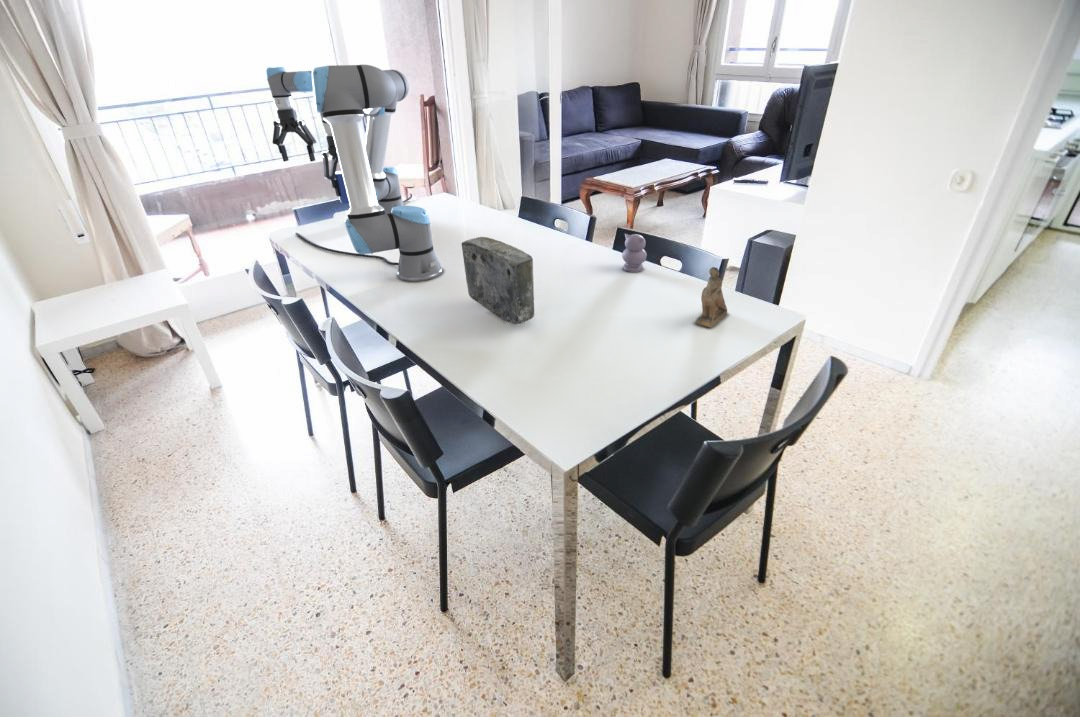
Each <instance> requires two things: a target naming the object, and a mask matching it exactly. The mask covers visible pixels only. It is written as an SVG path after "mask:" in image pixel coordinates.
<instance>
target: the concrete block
mask: <svg viewBox="0 0 1080 717" xmlns="http://www.w3.org/2000/svg"><path fill="white" fill-rule="evenodd" d="M461 251H462V257H463V258H462V259H463V266H464V273H465V280H466V285H467V291H468V293H467V294H468V296H469V298H471V299H472V300H473V301H475V302H477V304H479V305H480V306H482V307H483V308H485V309H486V310H487V311H489V312H491V313H492V314H493V315H495V316H496V317H498V318H500V319H501V320H503V321H505V322H506V323H507V322H508V323H510V324H513V325H521V324H523V323H526V322H528V321H529V320H532V319H533V318H534V317H535V292H534V290H535V289H534V288H535V287H534V259H533V256H532V255H530V253H527V252H525V251H523V250H521V249H519V248H517V247H515V246H513V245H511V244H508V243H505V242H503V241H500V240H498V239H494V238H490V237H486V236H477V237H474V238H470V239H467V240H465V241H463V242H461Z"/></svg>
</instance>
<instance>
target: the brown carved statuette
mask: <svg viewBox="0 0 1080 717" xmlns="http://www.w3.org/2000/svg"><path fill="white" fill-rule="evenodd" d="M708 273H709V275H710V276H709V278H708V279H707V280H708V281H707V284H706V286H705V287H704V288H703V290H702V292H701V297H700V298H701V309H702V312H701V315H700V316H699V317H698V318H697V319H696V321H695V324H696V325H699V326H703V327H705V328H712V327H714V326H715V325H716V324H717V323H719V321H721V320H722V319H723V318H725V317H726V316H727V315H728V307H727V304H726V301H725V298H724V293H723V290H722V287H723V281H722V279H721V278H720V270H719V269H718V268H717V267H715V266H712V267H711V268H710V269H709V270H708Z"/></svg>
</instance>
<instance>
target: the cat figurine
mask: <svg viewBox="0 0 1080 717" xmlns="http://www.w3.org/2000/svg"><path fill="white" fill-rule="evenodd" d="M624 237H625V241H624V246H625V249H624V250H623V251H622V253H621V254H622V255H621V257H622V260H623V261H624V262H625V263H624V264H623V270H624V271H626V272H631V273H639V272H641V271H642V270H643V266H644V265H643V263H645V262H646V260H647V257H648V254H647V251H646V250H645V247H646V239H645V238H644V237H643V236H642V235H640V234H637V233H635V234H628V233H624Z"/></svg>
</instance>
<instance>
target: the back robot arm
mask: <svg viewBox="0 0 1080 717" xmlns="http://www.w3.org/2000/svg"><path fill="white" fill-rule="evenodd" d="M382 70H383V71H384V72H386V73H387V74H388V75H389V76H390V77H391V79H392V80H393V82H394V85H395V88H396V94H395V98H394V100H393V102H392V103H391V104H390V105H388V106H386V107H385V113H384V115H382V116H377V117H374V116H373V117H367V123H366V131H365V139H364V143H365V147H366V152H367V156H368V161H369V165H370V170H371V174H372V179H373V183H374V188H375V192H376V197H377V202H378V204H379V205H380V206H382V207H383V208H384V211H385V214H389V213H391V210H392V208H393V207H397V206H406V205H405V203H406V202H408V201H410V200H411V199H412V198H413V194H412V193H410V194H409V195H410V196H409V197H408V198H407V199H405V200H403V199H402V198H403V197H402V193H401V187H400V181H399V174H398V171H397V169H396V168H395V167H393V166H385V160H386V153H387V146H388V138H389V131H390V125H391V117H392V115H393V114H395V113H396V111H397V104H398V102H401V101H403V100H405V99H406V98H407V96H408V94H409V90H410V86H409V82H408V79H407V78H406V76H405V75H404V73H402V72H401V71H400V70H397V69H382ZM312 71H313V70H298V71H286V70H285V67H284V66H268V67H265V70H264V72H265V76H266V81H267V84H268V87H269V90H270V93H271V97H272V100H273V104H274V108H275V109H276V110H275V111H276V115H277V118H278V119H279V120H274V121H273V135H272V144H273V145H276V146H277V149H278V152H279V154H281V158H282V161H283V162H288V161H290V159H289V156H288V152H287V149H286V146H285V144H284V141H285V140H286V136H287V134H288V133H295V134H296V135H298V136H299V137H300V139H301V140H302V141H303V142H304V143H306V149H307V150H306V151H307V153H308V158H309V161H310V162H315V161H316V158H315V157H316V156H315V148H314V145H315V144H317V140H316V139H315V137H314V135H313V134H312V132H311V131H310V129H309V128H308V127H307V124H306V121H305V120H303V119H302V120H298V116H297V111H296V109H295V103H294V100H293V96H292V93H305V94H306V93H313V85H312Z"/></svg>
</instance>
